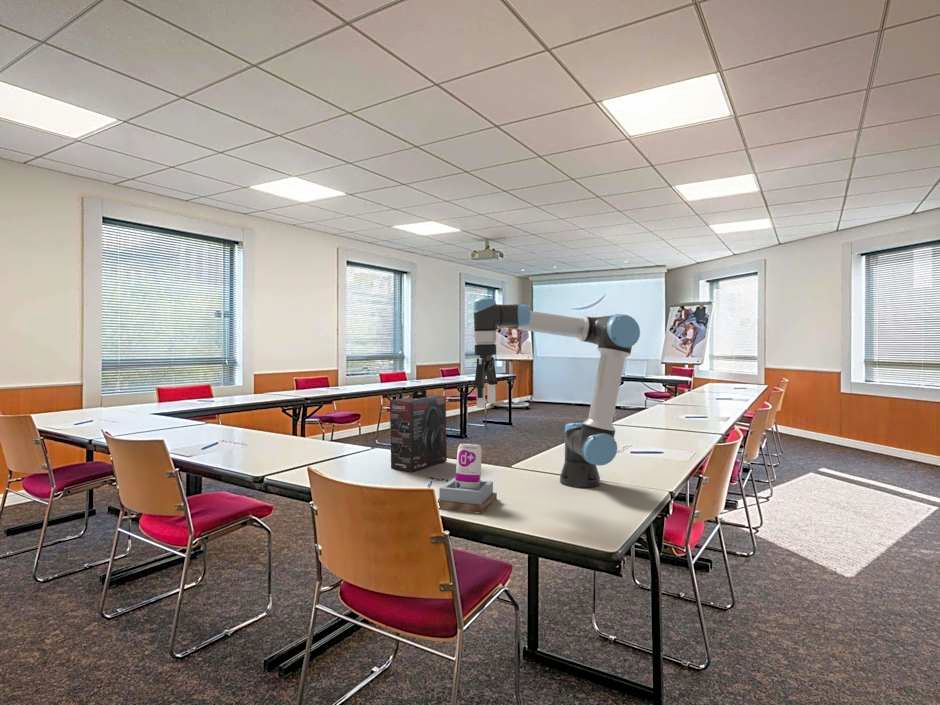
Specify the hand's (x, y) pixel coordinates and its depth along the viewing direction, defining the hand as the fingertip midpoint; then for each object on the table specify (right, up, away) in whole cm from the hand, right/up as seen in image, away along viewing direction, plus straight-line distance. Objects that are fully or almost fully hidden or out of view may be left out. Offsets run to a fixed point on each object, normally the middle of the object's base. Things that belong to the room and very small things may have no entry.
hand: (486, 405), depth 181 cm
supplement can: (-7, -28, -7) cm, 29 cm away
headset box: (-28, -31, +48) cm, 64 cm away
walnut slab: (-7, -33, -7) cm, 34 cm away
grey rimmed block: (-7, -30, -7) cm, 31 cm away
